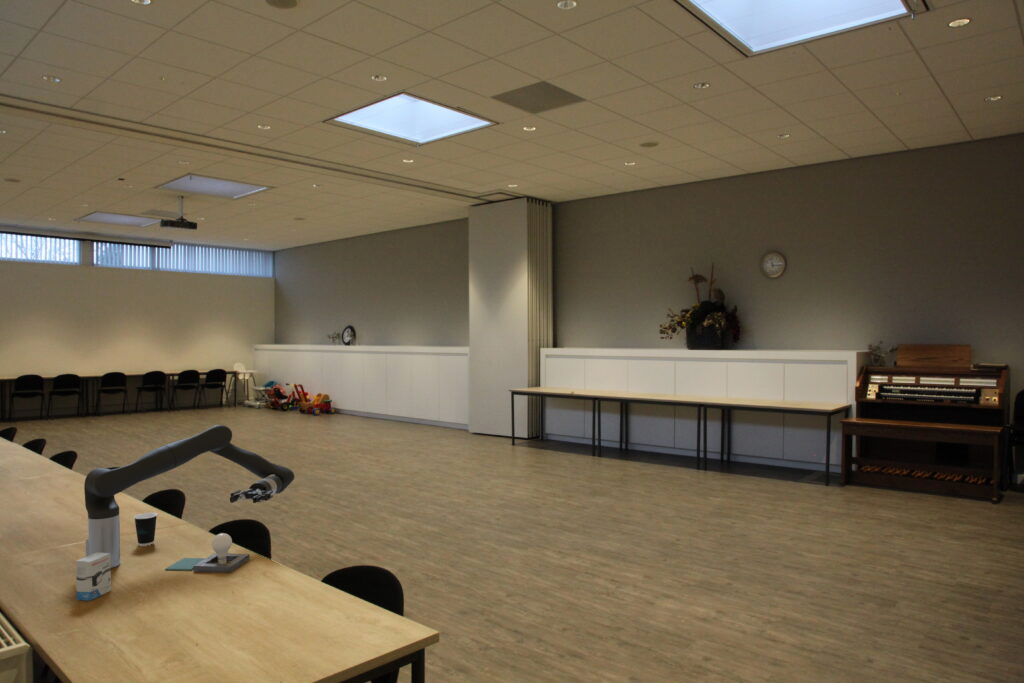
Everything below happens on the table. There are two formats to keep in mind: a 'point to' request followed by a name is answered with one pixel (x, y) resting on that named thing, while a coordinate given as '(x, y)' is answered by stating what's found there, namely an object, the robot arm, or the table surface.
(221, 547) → the lightbulb
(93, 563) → the ink box
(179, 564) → the mat
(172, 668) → the table surface
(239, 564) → the holder
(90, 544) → the robot arm
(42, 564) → the table surface
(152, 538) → the dixie cup
